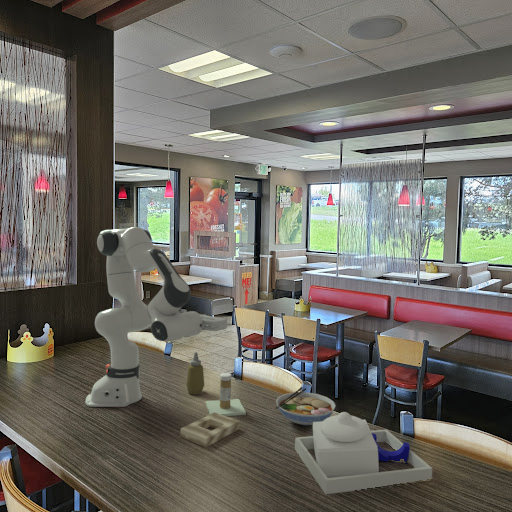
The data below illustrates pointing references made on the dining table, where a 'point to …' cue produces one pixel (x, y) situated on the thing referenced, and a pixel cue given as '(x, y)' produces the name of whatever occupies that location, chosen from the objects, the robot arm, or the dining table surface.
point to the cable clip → (393, 452)
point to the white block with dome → (345, 446)
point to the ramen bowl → (305, 407)
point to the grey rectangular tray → (363, 480)
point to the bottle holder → (206, 437)
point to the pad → (234, 409)
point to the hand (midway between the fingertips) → (216, 318)
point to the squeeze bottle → (195, 376)
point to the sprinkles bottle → (225, 390)
